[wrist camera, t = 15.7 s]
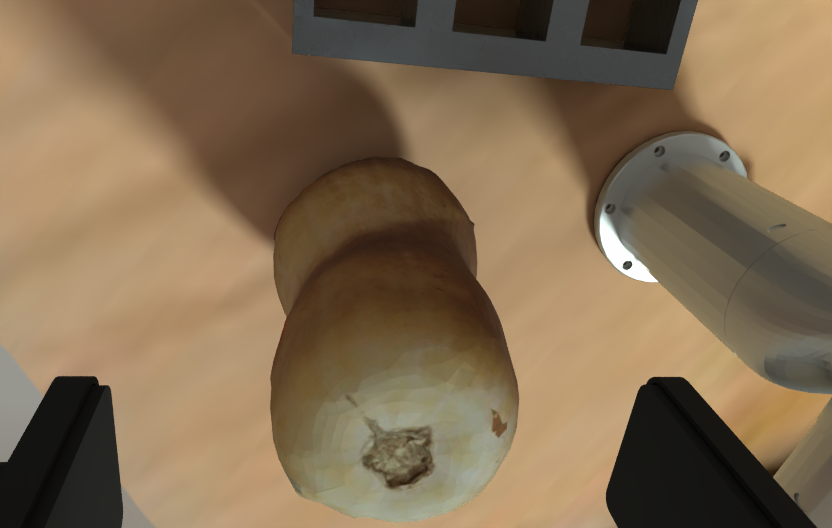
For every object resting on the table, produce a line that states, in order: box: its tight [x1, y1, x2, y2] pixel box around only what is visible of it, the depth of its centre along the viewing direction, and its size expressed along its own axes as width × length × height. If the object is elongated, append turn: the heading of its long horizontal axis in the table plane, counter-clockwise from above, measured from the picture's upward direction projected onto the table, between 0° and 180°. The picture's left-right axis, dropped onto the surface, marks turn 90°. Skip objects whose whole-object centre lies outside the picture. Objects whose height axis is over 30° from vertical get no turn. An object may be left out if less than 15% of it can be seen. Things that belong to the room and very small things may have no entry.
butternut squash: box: [270, 157, 519, 523], centre depth 38 cm, size 14×13×25 cm
